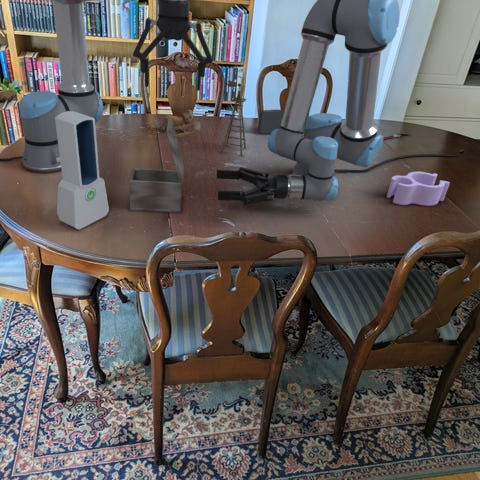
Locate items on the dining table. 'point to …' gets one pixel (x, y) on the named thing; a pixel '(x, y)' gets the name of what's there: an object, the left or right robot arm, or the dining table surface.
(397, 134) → the paintbrush
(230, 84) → the miniature windmill
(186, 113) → the lion figurine
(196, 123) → the grey piece
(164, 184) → the chest
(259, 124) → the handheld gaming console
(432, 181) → the clip
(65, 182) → the electronic device
